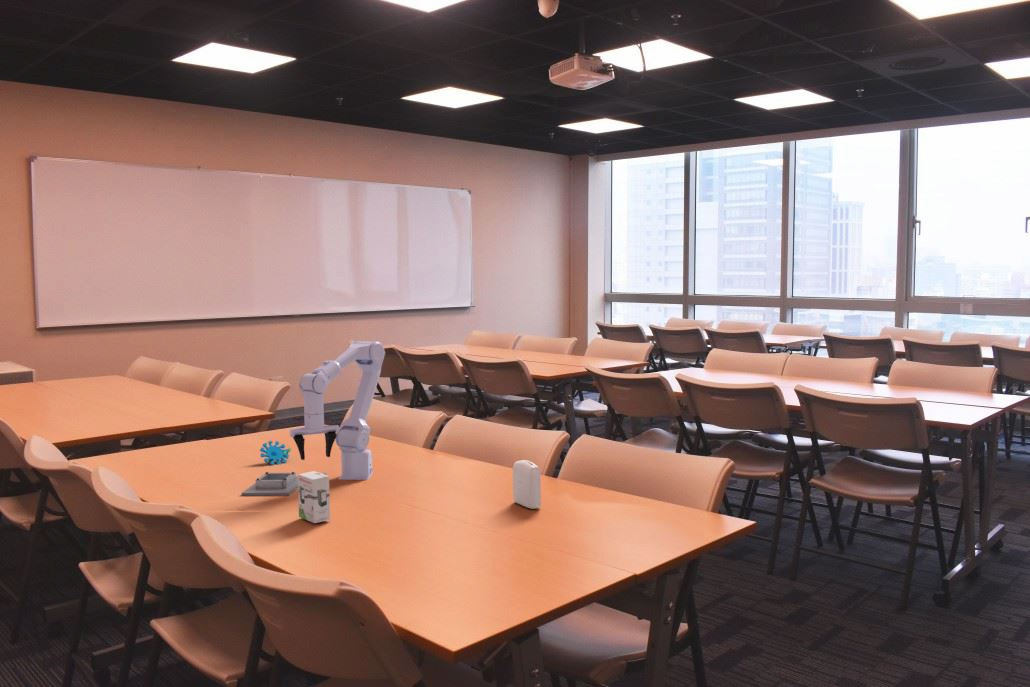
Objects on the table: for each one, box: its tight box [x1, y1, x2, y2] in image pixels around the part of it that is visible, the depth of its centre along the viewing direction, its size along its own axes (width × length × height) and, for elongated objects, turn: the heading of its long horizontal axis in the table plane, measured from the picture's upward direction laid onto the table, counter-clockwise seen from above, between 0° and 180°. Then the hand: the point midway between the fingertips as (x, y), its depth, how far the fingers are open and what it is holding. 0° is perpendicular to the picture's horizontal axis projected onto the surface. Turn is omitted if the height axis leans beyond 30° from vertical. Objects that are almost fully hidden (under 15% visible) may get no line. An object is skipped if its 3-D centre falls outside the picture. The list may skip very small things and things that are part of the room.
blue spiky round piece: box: [259, 440, 292, 466], centre depth 283 cm, size 11×6×10 cm
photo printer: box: [512, 459, 542, 510], centre depth 228 cm, size 10×4×12 cm, turn 29°
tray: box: [241, 471, 298, 497], centre depth 251 cm, size 14×20×4 cm
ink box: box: [297, 470, 331, 524], centre depth 217 cm, size 9×5×12 cm, turn 44°
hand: (315, 457), depth 248 cm, fingers open, 7 cm apart
